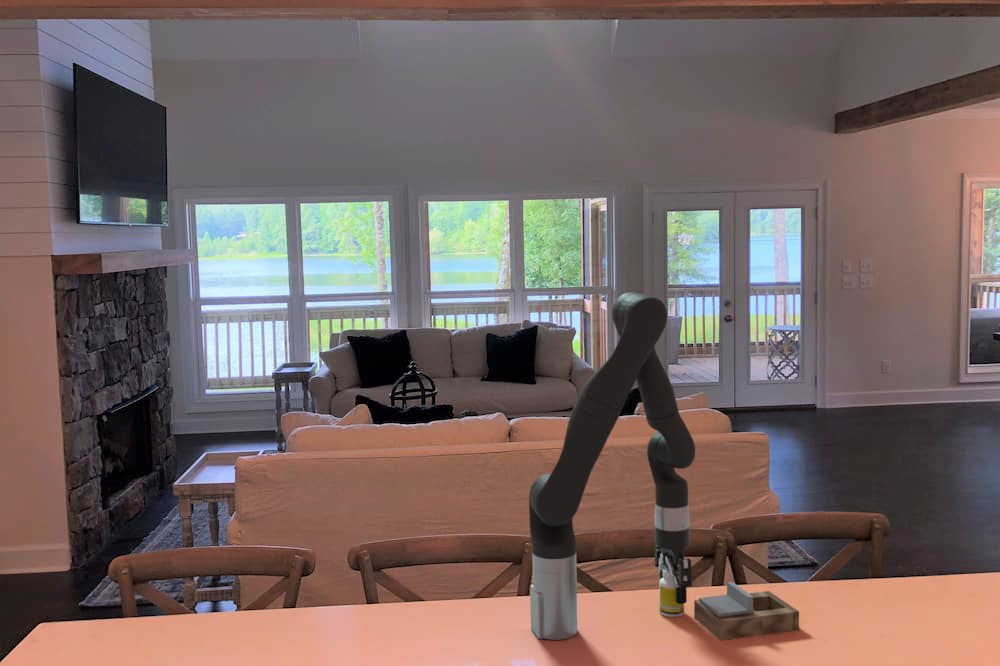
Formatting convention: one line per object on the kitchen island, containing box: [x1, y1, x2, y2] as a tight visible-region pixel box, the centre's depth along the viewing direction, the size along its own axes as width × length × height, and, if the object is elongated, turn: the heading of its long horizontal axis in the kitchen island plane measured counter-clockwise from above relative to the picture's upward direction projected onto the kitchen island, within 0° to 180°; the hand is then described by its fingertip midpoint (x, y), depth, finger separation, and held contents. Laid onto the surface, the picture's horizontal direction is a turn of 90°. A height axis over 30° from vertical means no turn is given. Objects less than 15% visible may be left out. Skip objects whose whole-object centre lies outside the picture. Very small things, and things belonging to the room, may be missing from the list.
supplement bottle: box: [658, 568, 685, 618], centre depth 201 cm, size 5×5×10 cm
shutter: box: [698, 581, 754, 617], centre depth 193 cm, size 8×9×4 cm
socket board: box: [693, 590, 800, 641], centre depth 194 cm, size 18×12×4 cm, turn 104°
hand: (672, 596), depth 200 cm, fingers open, 8 cm apart
